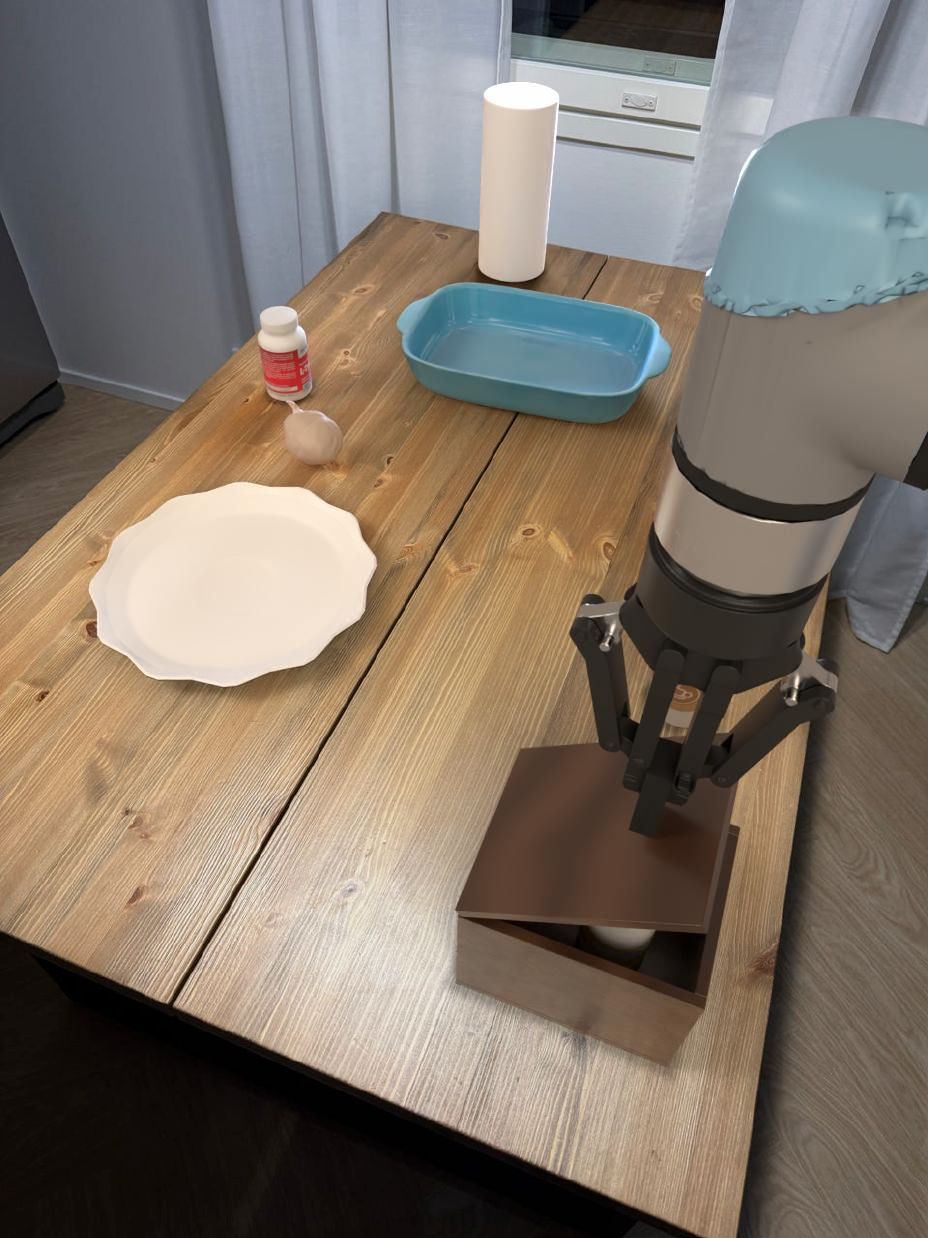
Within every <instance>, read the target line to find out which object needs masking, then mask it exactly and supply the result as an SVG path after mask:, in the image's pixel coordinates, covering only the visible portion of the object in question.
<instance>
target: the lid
mask: <svg viewBox="0 0 928 1238" xmlns="http://www.w3.org/2000/svg"><path fill="white" fill-rule="evenodd" d="M728 732H729V731H728ZM728 732H727V731H725V732H716V735H715V737H714V740H713V742H712V745H718V743H719V741H720V740H721V739H722V738H723V737H724V736H725V735H726V734H727V733H728ZM685 736H686V735H675V736H674V735H673V736H661V737H662V738H666V739H669V740H672V741H675V742H678V743H681V744H683V742H684V739H685ZM627 764H628V757H627V756H626V754H625V753H623V752H622V751H620V750H619V751H618V752H615V753H614V752H608V751H605V750H604V749H602V748H601V747H600V745H599V741H597V742H584V743H571V744H560V745H558V744H557V745H547V746H545V745H544V746H531V747H521V748H519V749H518V752H517V755H516V758H515V760H514V763H513V765H512V767H511V770H510V772H509V775H508V778H507V779H506V782H505V785H504V787H503V790H502V792H501V795H500V797H499V799H498V802H497V805H496V807H495V810H494V812H493V815H492V816H491V820H490V822H489V824H488V826H487V829H486V831H485V834H484V836H483V839H482V841H481V844H480V846H479V849H478V852H477V854H476V856H475V859H474V861H473V863H472V867H471V868H470V872H469V874H468V876H467V879H466V881H465V884H464V886H463V889H462V890H461V893H460V897H459V898H458V901H457V904H456V905H455V908H454V911H455V912H456V914H457V915H458V914H459V915H460V916H462V917H477V918H491V919H505V920H519V921H533V922H548V923H562V924H576V925H590V926H604V927H619V928H633V929H647V930H661V931H675V932H690V933H704V934H707V933H708V928H709V923H710V918H711V913H712V909H713V904H714V899H715V894H716V889H717V884H718V879H719V875H720V870H721V865H722V860H723V855H724V850H725V846H726V841H727V836H728V831H729V826H730V824H731V820H732V816H733V811H734V806H735V801H736V797H737V791H738V786H739V783H740V779H739V780H738V781H737V782H736V783H735V784H734V785H733V786H731V787H729V788H721V787H718V786H716V785H714V784H713V783H712V782H711V779H710V778H701V779H698V780H697V783H696V787H695V791H694V793H693V794H691V795H690V796H689V798H688V801H687V803H686V804H684V805H683V806H679V805H676V804H672V803H669V802H666V803H665V806H664V808H663V811H662V814H661V816H660V819H659V822H658V824H657V827H656V830H655V832H654V835H653V838H650V837H647V836H644V835H641V834H638V833H636V832H633V831H630V830H629V826H630V823H631V819H632V816H633V812H634V809H635V805H636V802H637V798H638V795H639V793H637V792H634V791H631V790H628V789H625V788H624V787H623V784H622V781H623V777H624V774H625V771H626V767H627Z"/></svg>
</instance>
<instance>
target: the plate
mask: <svg viewBox="0 0 928 1238" xmlns="http://www.w3.org/2000/svg"><path fill="white" fill-rule="evenodd" d="M377 568H378V562H377V556H376V555H375V554H374V552H373V551H372V549H371V548H370V546H369V545H368V544H367V543H366V541H365V540H364V538H363V535H362V531H361V528H360V524H359V520H358V518H357V517H355V515H354V514H352V512H349V511H347V510H344V509H343V508H340V507H337V506H335V505H332V504H329V503H328V502H326V501H325V500H324V499H322V498H321V497H320V496H318V495H317V494H315V492H313V491H311V490H310V489H308V488H304V487H301V486H271V485H265V484H259V483H254V482H249V481H238V482H232V483H228V484H226V485H222V486H219V487H217V488H214V489H210V490H207V491H202V492H196V493H190V494H189V493H188V494H183V495H177V496H175V497H173V498H171V499H168V500H166V501H165V502H164V503H163V504H161V505H160V506H159V507H158V508H157V509H156V510H154V511H152V513H150V514H149V515H148V516H147V517H145V518H144V519H142V520H140V521H139V522H136V523H134V524H132V525H130V526H129V527H127V528H125V529H123V530H121V531H120V532H119V533H118V534H117V535H116V536H115V537H114V538H113V541H112V543H111V545H110V549H109V551H108V555H107V557H106V560H105V561H104V563H103V564H102V565H101V567H100V568H99V569H98V570H97V572H96V573H95V574H94V576H93V577H92V579H91V580H90V582H89V586H88V593H89V596H90V598H91V601H92V603H93V605H94V607H95V610H96V636H97V638H98V639H99V641H100V642H101V644H102V646H105V647H107V648H109V649H111V650H113V651H115V652H117V653H119V654H121V655H122V656H124V657H126V658H128V659H129V660H130V662H131V663H133V664H134V665H135V666H136V667H137V669H138V670H139V671H141V673H142V674H143V675H144V676H145V677H148V678H150V679H153V680H155V681H157V682H158V681H160V682H162V681H163V682H164V681H170V682H171V681H173V682H174V681H175V682H176V681H177V682H178V681H181V682H182V681H184V682H185V681H186V682H187V681H189V682H191V681H192V682H196V683H200V684H205V685H209V686H213V687H217V688H223V689H227V688H238V687H240V686H243V685H245V684H247V683H250V682H252V681H254V680H256V679H259V678H261V677H264V676H266V675H268V674H272V673H277V672H283V671H287V670H292V669H298V668H302V667H305V666H307V665H308V664H310V663H313V662H314V661H316V660H317V659H318V657H319V656H320V655H321V654H322V653H323V652H324V650H325V649H326V648H328V646H329V645H330V644H331V642H332V641H333V640H334V639H335V638H337V637H338V636H340V635H341V634H342V633H343V632H346V630H349V628H351V627H352V626H354V625H355V624H356V623H358V622H359V621H361V619H362V617H363V616H364V614H365V612H366V606H367V605H366V604H367V593H368V587H369V585H370V583H371V581H372V580H373V579H372V578H373V577H374V574H375V572H376V570H377Z"/></svg>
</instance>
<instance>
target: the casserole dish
mask: <svg viewBox="0 0 928 1238" xmlns="http://www.w3.org/2000/svg"><path fill="white" fill-rule="evenodd" d="M396 328H397V331H398V332H399V333H400V334H401V335H402V337H401V349H402V352H403V354H404V357H405V358H406V361H407V363H408V365H409V368H410V370H411V372H412V374H413V376H414V377H415V379H416V380H417V381H418V382H419V383H420V385H422V386H423V387H424V388H425V389H427V390H429V391H430V392H432V393H434V394H437V395H440V396H443V397H445V398H449V399H453V400H458V401H461V402H466V403H470V404H475V405H479V406H485V407H488V408H489V407H490V408H495V409H499V410H505V411H513V412H517V413H520V414H521V413H522V414H525V415H526V414H527V415H532V416H537V417H542V418H543V417H544V418H548V419H553V420H554V419H555V420H561V421H565V422H572V423H578V424H579V423H580V424H593V425H594V424H595V425H596V424H604V423H609V422H612V421H615V420H617V419H619V418H621V417H622V416H623V415H625V414H626V413H627V412H628V411H629V410H630V409H631V407H632V406H633V404H634V403H635V401H636V400H637V398H638V396H639V395H640V392H641V390H642V388H643V386H644V385H645V383H646V382H647V381H648V380H650V379H654V378H656V377H658V376H660V375H662V374H664V372H666V370H667V369H668V368H669V365H670V363H671V360H672V348H671V345H670V343H668V341H667V340H666V339H665V338H663V336H662V333H661V328H660V327H659V324H658V323H657V322H656V321H655V320H654V319H653V318H652V317H650V316H648V315H647V314H645V313H642V312H640V311H637V310H634V309H631V308H628V307H622V306H619V305H613V304H609V303H604V302H599V301H592V300H587V299H581V298H575V297H570V296H569V297H568V296H563V295H557V294H552V293H546V292H540V291H535V290H529V289H523V288H519V287H514V286H513V287H512V286H507V285H506V286H505V285H500V284H499V285H498V284H493V283H483V282H455V283H452V284H447V285H444V286H442V287H440V288H438V289H437V290H435V291H434V292H433V293H431V294H430V295H428V296H426V297H422V298H420V299H418V300H416V301H413V302H412V303H410V304H409V305H408V306H406V307H405V309H404V310H403V311H402V312H401V314H400V315H399V317H398V319H397V321H396Z"/></svg>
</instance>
